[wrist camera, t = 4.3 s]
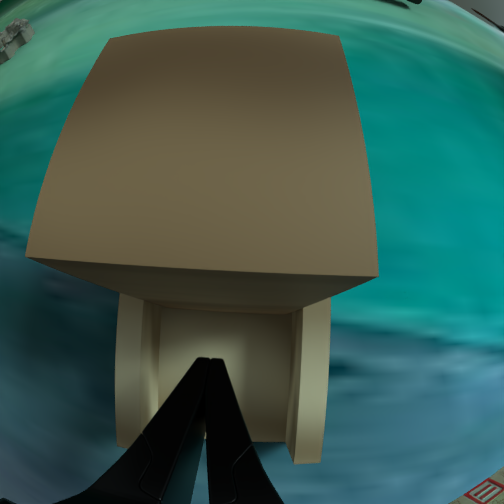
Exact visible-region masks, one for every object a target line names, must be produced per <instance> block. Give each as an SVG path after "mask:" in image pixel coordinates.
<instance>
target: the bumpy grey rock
mask: <svg viewBox="0 0 504 504" xmlns="http://www.w3.org/2000/svg"><path fill="white" fill-rule="evenodd" d="M28 22H29V20H25V19H21V20H20V19H18V18H16V19H14V21H13V22H12V23H11V24H9V25H8V26H7V27H6V29H5V30H4V31H3V32H0V48H2V47H3V46H4V48H3V49H2V50H0V64H3V63H4V62H5V61H6V60H9V59H11V58H12V57H13V56H14V55H15V51H16V50H17V49H18V48H19V47H20V46H22V45H24V44H26V43H28V42H29V41H30V40H31V39H32V36H33V35H34V34H35V32H34V30H33V29H32V27H31V25H30V24H28Z"/></svg>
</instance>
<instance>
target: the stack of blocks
mask: <svg viewBox="0 0 504 504" xmlns="http://www.w3.org/2000/svg"><path fill="white" fill-rule="evenodd" d="M449 504H504V466H503V467H502V468H501V469H500V470H498V471H497V472H496V473H494V474H493V475H492V476H491V477H489V478H487V479H486V480H484V481H483V482H482V483H480V484H479V485H477V486H476V487H474V488H473V489H471V490H470V491H468V492H467V493H465V494H464V495H462V496H460V497H459V498H457V499H456V500H454V501H452V502H451V503H449Z"/></svg>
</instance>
